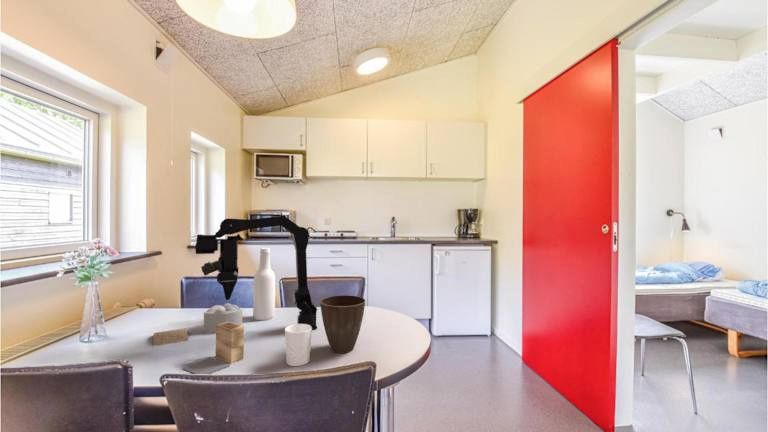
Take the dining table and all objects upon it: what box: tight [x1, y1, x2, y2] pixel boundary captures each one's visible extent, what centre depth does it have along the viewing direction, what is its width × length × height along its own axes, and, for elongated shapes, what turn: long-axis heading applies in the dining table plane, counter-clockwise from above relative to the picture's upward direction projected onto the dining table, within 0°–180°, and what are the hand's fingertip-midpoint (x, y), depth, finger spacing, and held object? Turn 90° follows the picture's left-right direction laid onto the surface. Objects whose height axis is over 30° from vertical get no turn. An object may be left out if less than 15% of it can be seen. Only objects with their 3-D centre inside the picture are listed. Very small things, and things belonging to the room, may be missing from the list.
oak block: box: [215, 322, 245, 365], centre depth 97 cm, size 4×8×10 cm, turn 59°
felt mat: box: [182, 356, 231, 375], centre depth 91 cm, size 8×10×1 cm
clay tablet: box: [152, 327, 189, 347], centre depth 114 cm, size 14×10×3 cm
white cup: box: [284, 323, 313, 367], centre depth 96 cm, size 8×8×10 cm
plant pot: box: [320, 294, 366, 354], centre depth 105 cm, size 15×15×16 cm
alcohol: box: [252, 247, 276, 321], centre depth 138 cm, size 9×9×30 cm
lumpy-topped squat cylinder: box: [203, 302, 243, 334], centre depth 124 cm, size 10×13×9 cm
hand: (228, 296), depth 114 cm, fingers open, 9 cm apart
